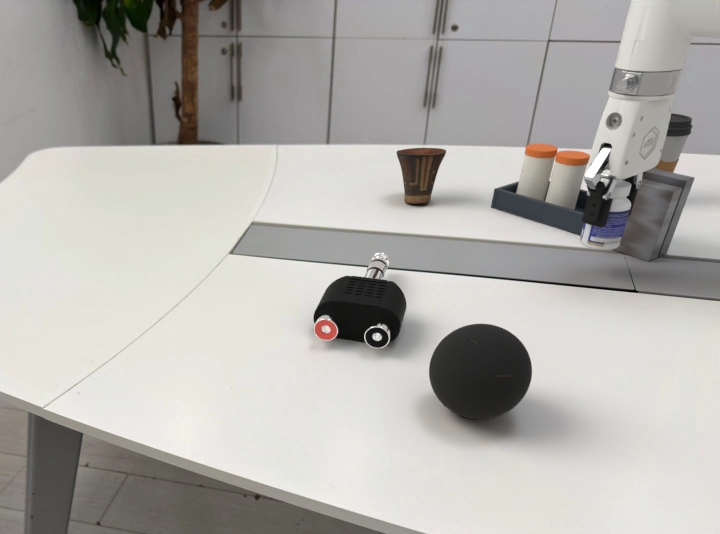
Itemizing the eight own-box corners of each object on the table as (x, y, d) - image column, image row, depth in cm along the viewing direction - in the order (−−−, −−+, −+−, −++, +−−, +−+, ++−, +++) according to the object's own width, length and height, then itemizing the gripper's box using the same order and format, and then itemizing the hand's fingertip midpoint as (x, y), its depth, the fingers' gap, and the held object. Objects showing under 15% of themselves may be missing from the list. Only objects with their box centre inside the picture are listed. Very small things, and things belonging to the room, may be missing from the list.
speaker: (452, 374, 79) (468, 298, 74) (536, 409, 73) (560, 329, 67) (404, 410, 74) (417, 330, 68) (490, 451, 67) (512, 367, 62)
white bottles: (579, 212, 120) (596, 154, 115) (562, 219, 118) (578, 160, 112) (524, 197, 128) (537, 142, 123) (507, 202, 126) (519, 146, 120)
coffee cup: (607, 201, 126) (632, 118, 118) (624, 191, 131) (650, 109, 122) (655, 212, 121) (686, 125, 113) (672, 200, 125) (702, 116, 117)
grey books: (666, 253, 106) (695, 177, 99) (648, 261, 104) (676, 184, 97) (611, 236, 112) (634, 164, 105) (593, 244, 110) (615, 170, 103)
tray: (640, 226, 116) (646, 206, 114) (601, 242, 110) (607, 221, 108) (529, 194, 131) (533, 176, 129) (490, 207, 126) (494, 188, 124)
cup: (413, 190, 135) (420, 139, 129) (448, 202, 129) (457, 148, 123) (380, 199, 131) (386, 146, 126) (415, 211, 125) (422, 156, 119)
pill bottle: (628, 247, 97) (646, 186, 92) (596, 253, 96) (613, 191, 91) (601, 235, 101) (617, 176, 96) (570, 240, 100) (585, 180, 95)
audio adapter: (309, 307, 83) (347, 235, 102) (307, 345, 86) (344, 268, 105) (400, 320, 79) (422, 243, 99) (394, 359, 82) (416, 276, 102)
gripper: (635, 97, 80) (595, 242, 90) (709, 76, 87) (665, 212, 97) (576, 89, 85) (545, 227, 95) (650, 70, 93) (614, 199, 103)
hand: (606, 218), depth 96 cm, fingers closed on pill bottle, 5 cm apart
